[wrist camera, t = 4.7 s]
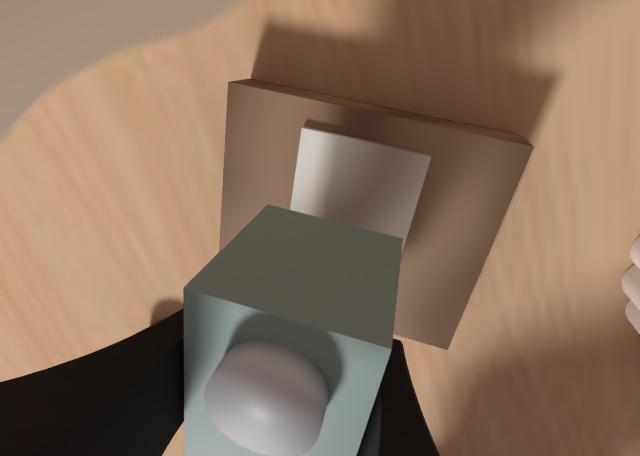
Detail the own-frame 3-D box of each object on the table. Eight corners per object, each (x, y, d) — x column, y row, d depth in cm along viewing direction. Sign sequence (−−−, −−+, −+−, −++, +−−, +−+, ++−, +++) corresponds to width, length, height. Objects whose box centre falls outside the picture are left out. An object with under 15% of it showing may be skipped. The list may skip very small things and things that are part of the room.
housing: (357, 391, 15) (324, 567, 10) (251, 357, 16) (168, 506, 11) (402, 238, 12) (388, 380, 7) (267, 203, 12) (161, 310, 7)
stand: (520, 135, 16) (536, 148, 13) (444, 321, 20) (447, 354, 18) (249, 78, 17) (224, 82, 15) (235, 262, 22) (214, 285, 20)
